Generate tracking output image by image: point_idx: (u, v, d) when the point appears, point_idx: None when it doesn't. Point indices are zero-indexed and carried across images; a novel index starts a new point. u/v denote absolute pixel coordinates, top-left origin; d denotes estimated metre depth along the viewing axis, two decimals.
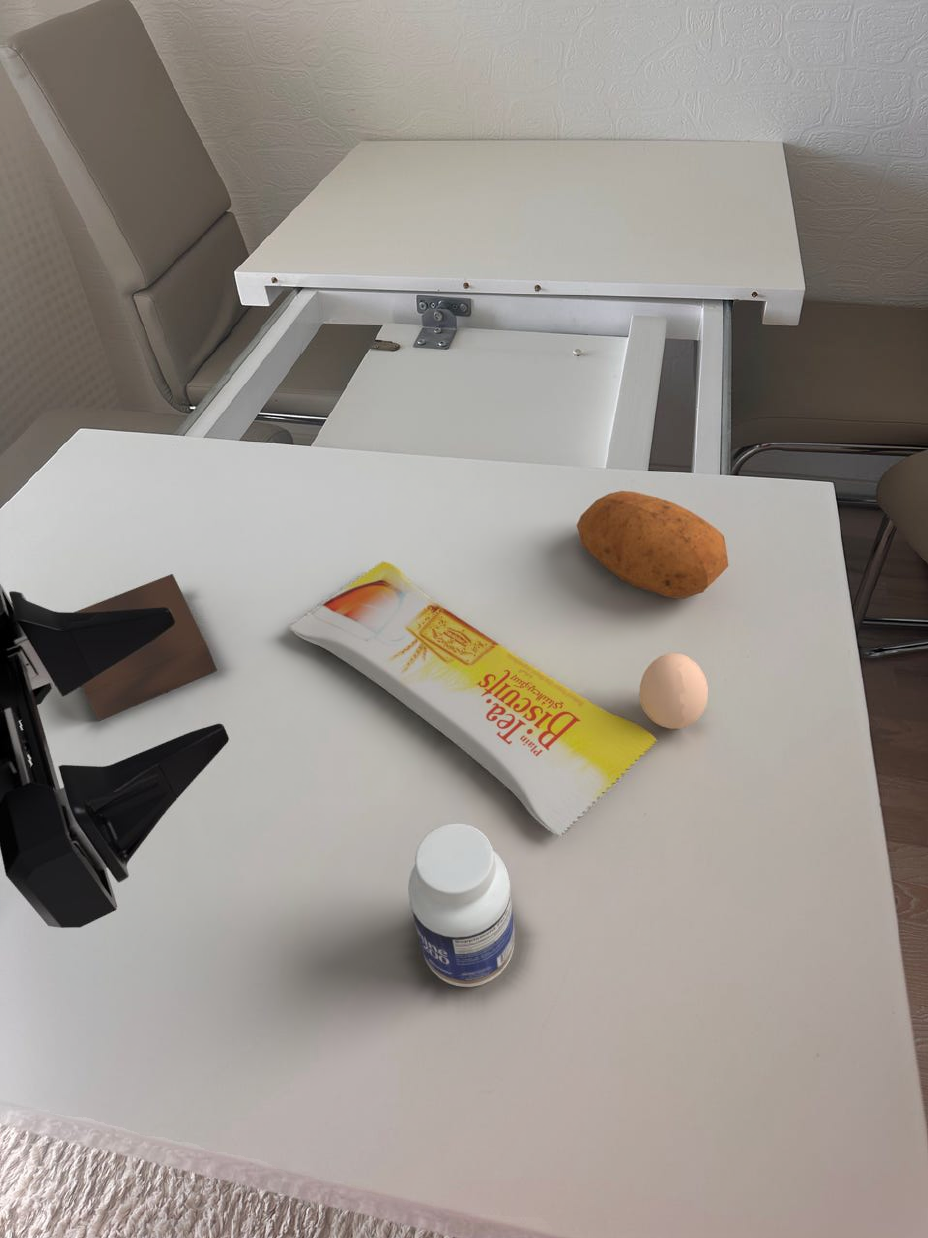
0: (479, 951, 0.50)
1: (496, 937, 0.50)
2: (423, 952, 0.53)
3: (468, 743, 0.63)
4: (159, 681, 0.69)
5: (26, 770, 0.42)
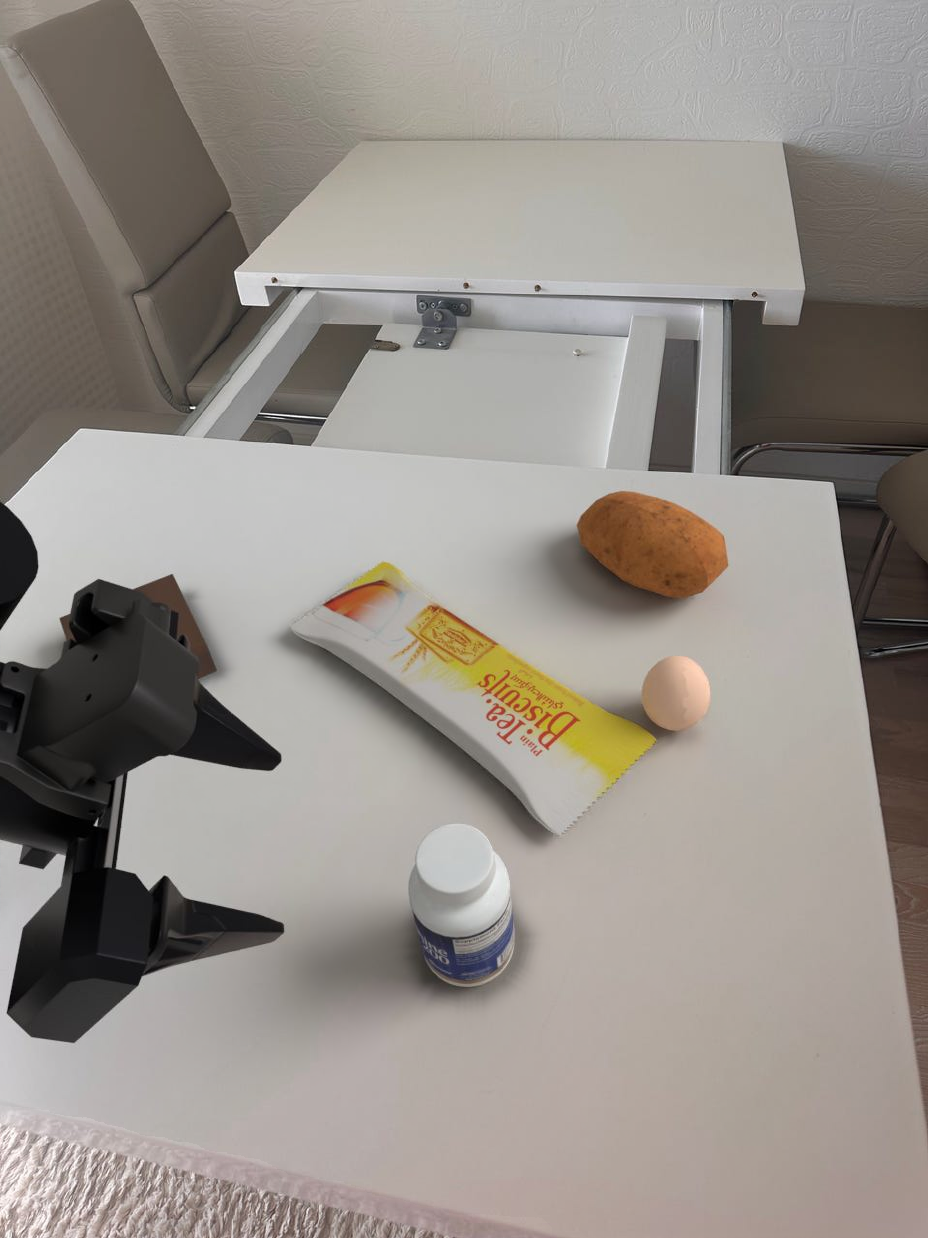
0: (479, 950, 0.50)
1: (496, 937, 0.50)
2: (423, 952, 0.53)
3: (468, 743, 0.63)
4: None
5: (114, 841, 0.37)
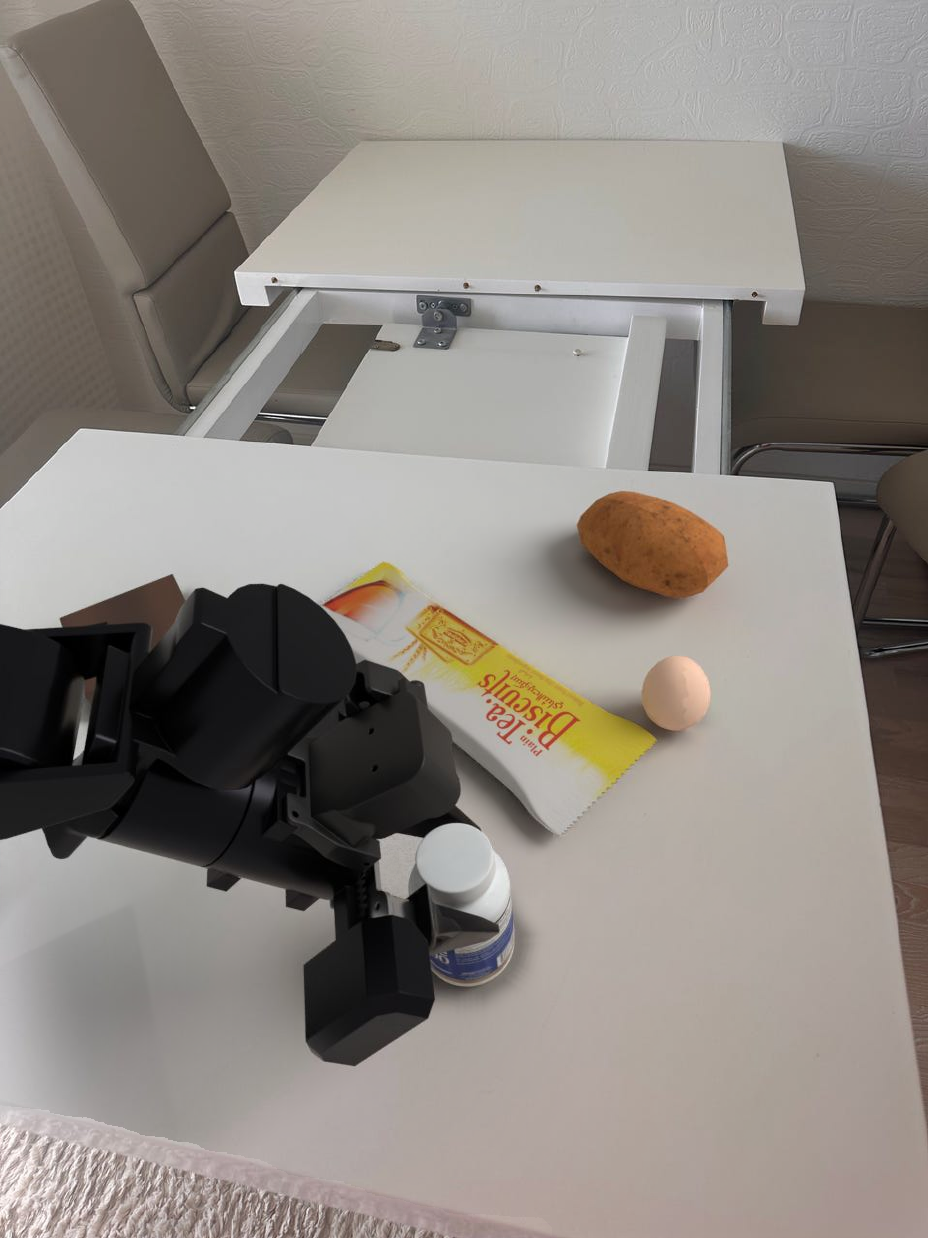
0: (479, 950, 0.50)
1: (496, 937, 0.50)
2: None
3: (468, 743, 0.63)
4: None
5: None
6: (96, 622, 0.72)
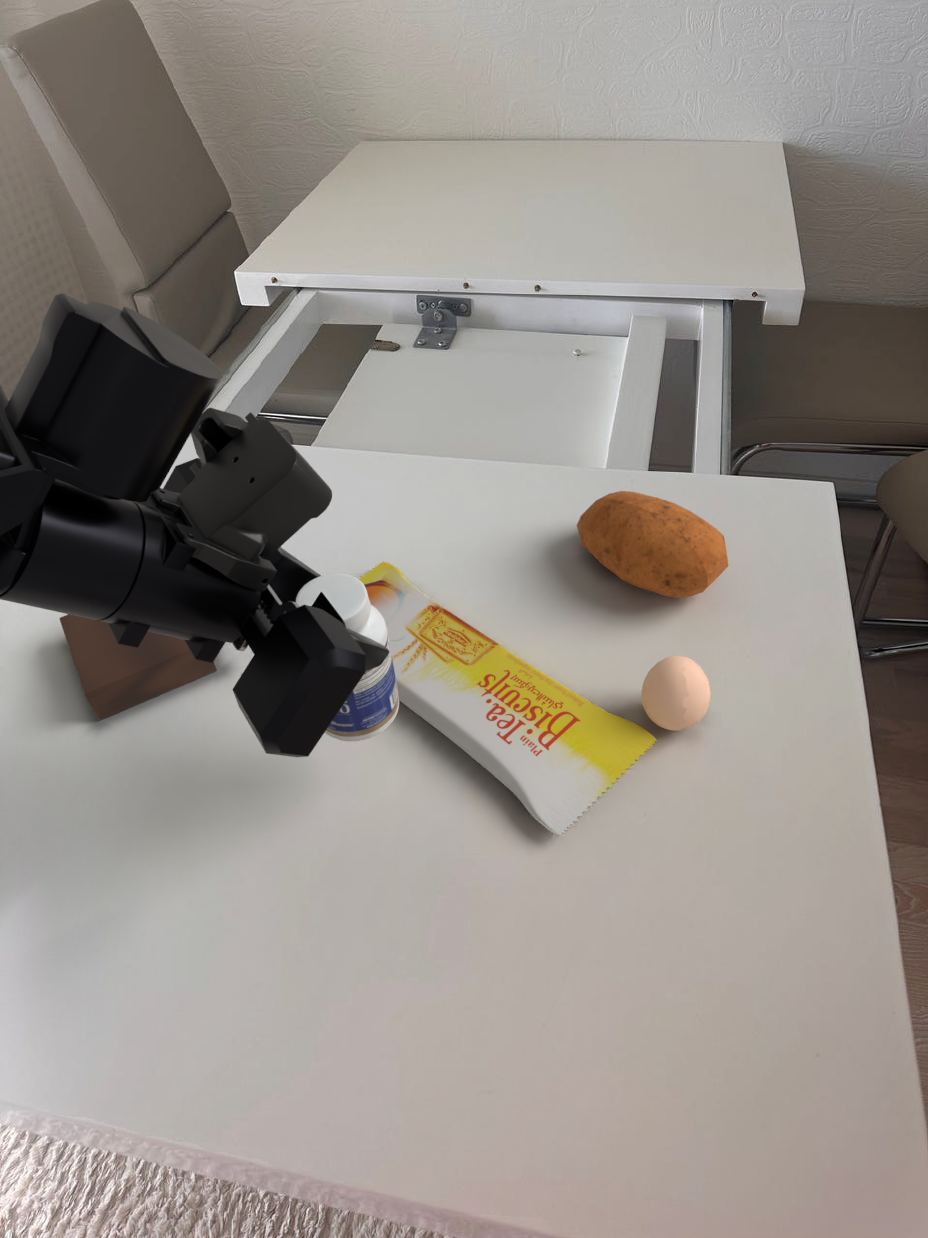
0: (374, 685, 0.54)
1: (385, 670, 0.54)
2: None
3: (468, 743, 0.63)
4: (159, 681, 0.69)
5: (267, 585, 0.47)
6: (96, 622, 0.72)
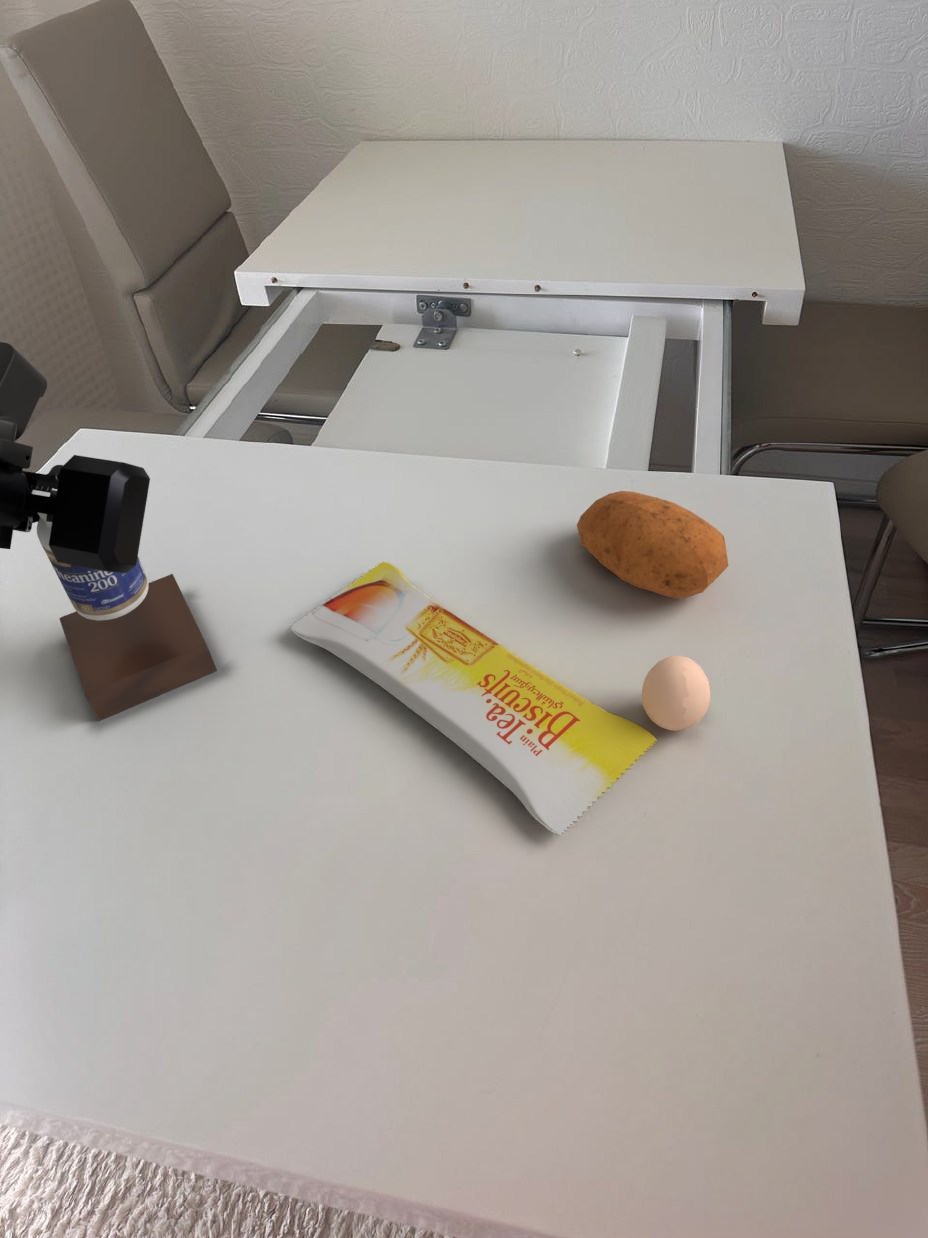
0: None
1: None
2: (93, 608, 0.65)
3: (468, 743, 0.63)
4: (159, 681, 0.69)
5: None
6: (96, 622, 0.72)
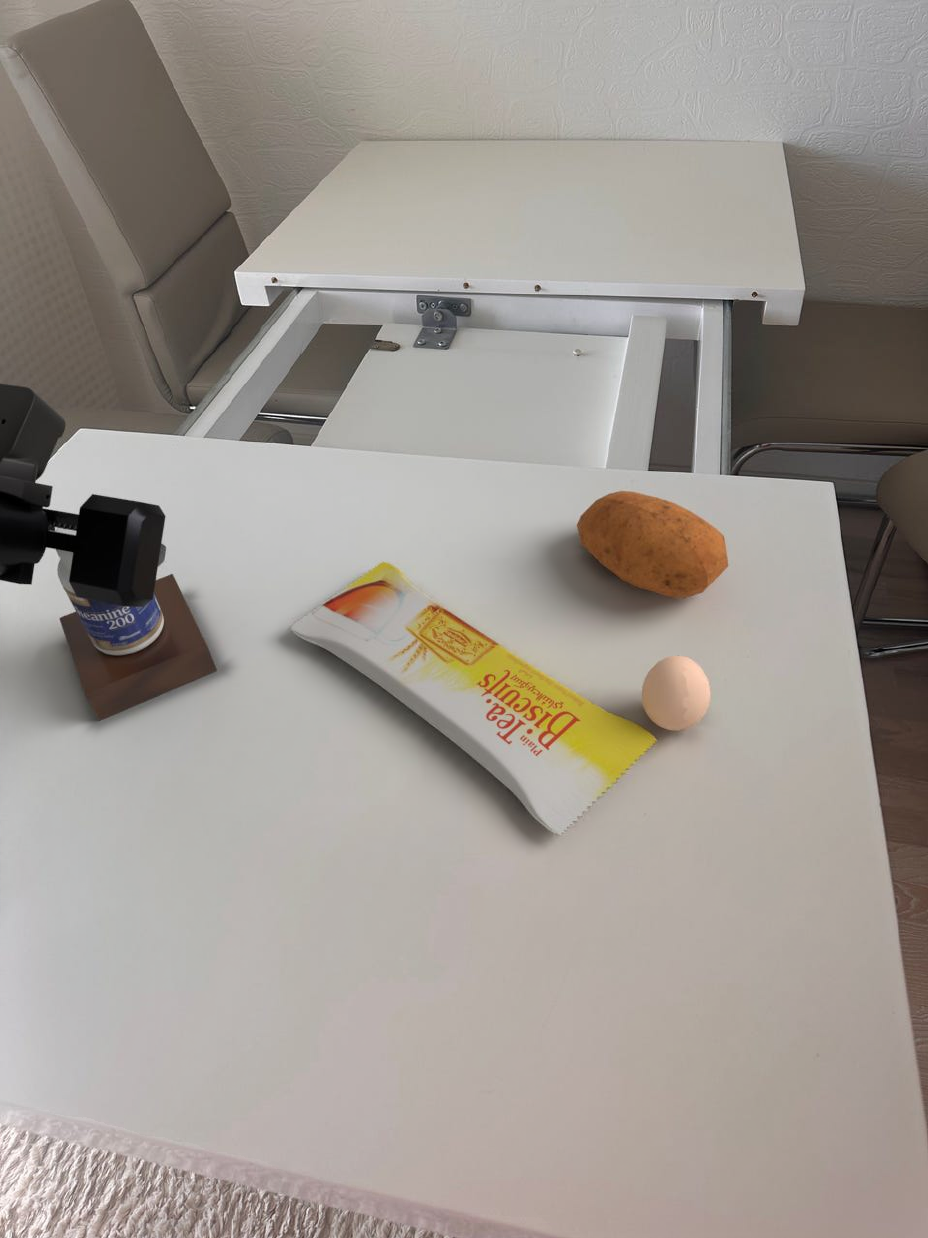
0: None
1: None
2: (111, 644, 0.68)
3: (468, 743, 0.63)
4: (159, 681, 0.69)
5: None
6: None
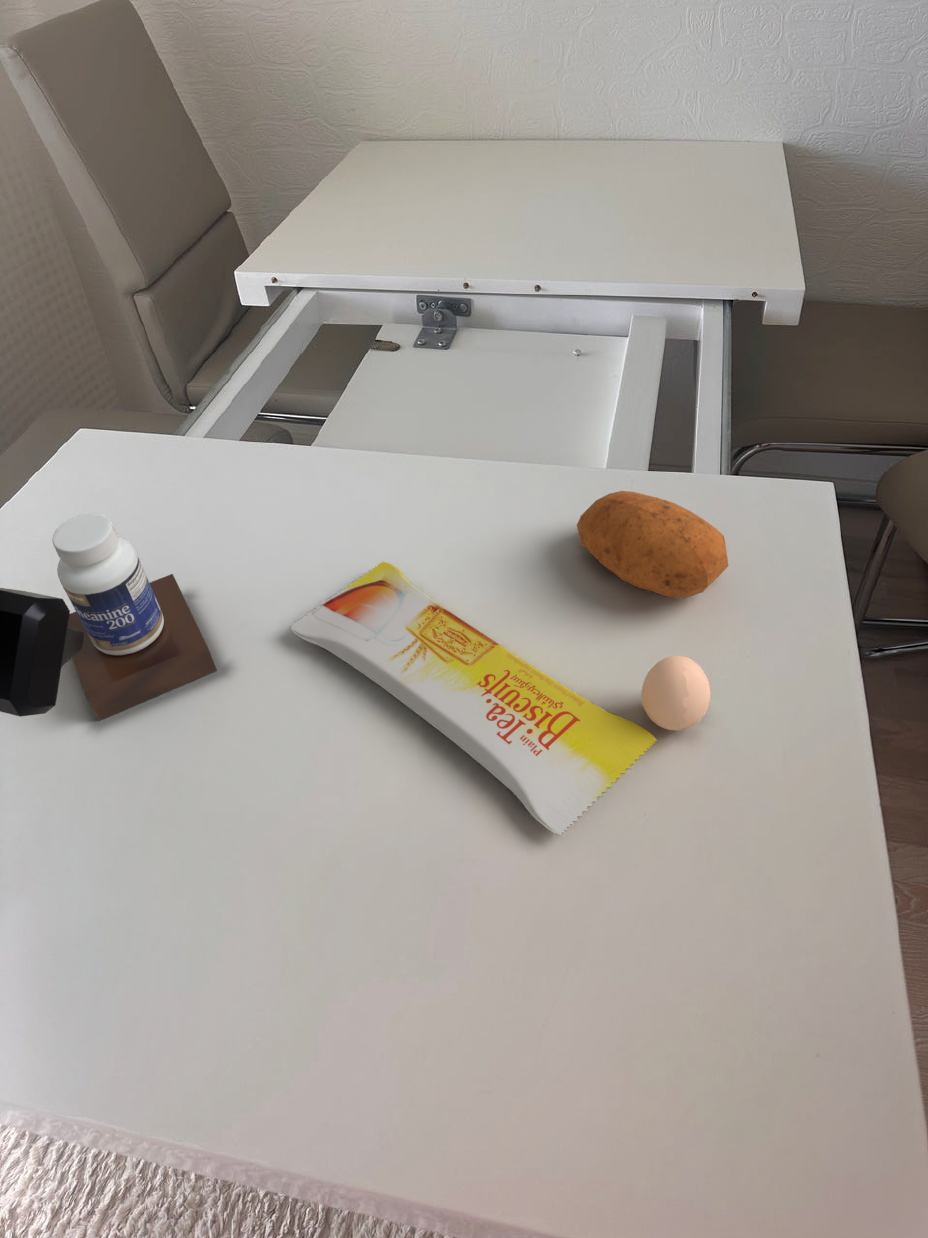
0: (144, 589, 0.67)
1: (145, 575, 0.68)
2: (111, 644, 0.68)
3: (468, 743, 0.63)
4: (159, 681, 0.69)
5: None
6: None
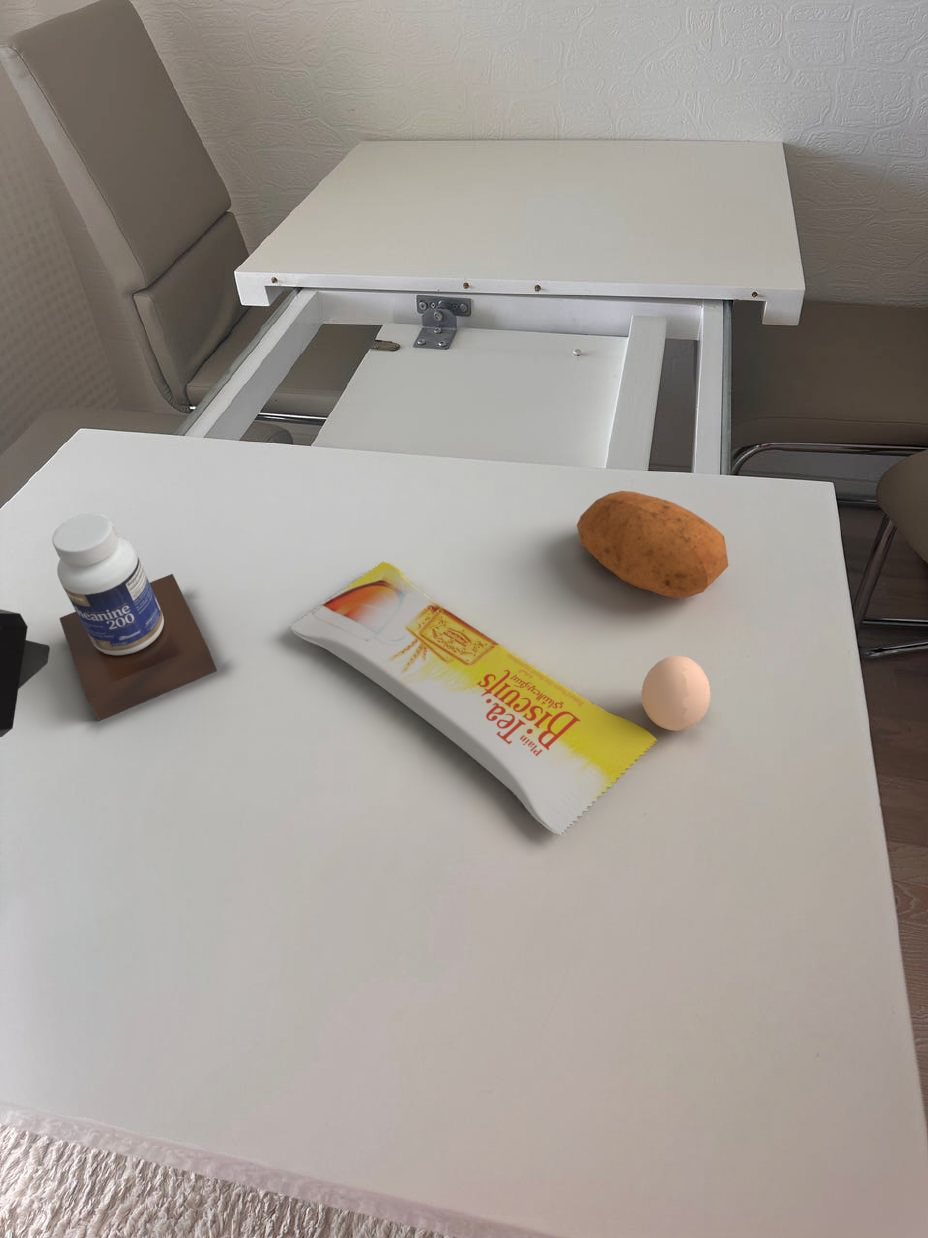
0: (144, 589, 0.67)
1: (145, 575, 0.68)
2: (111, 644, 0.68)
3: (468, 743, 0.63)
4: (159, 681, 0.69)
5: None
6: None
